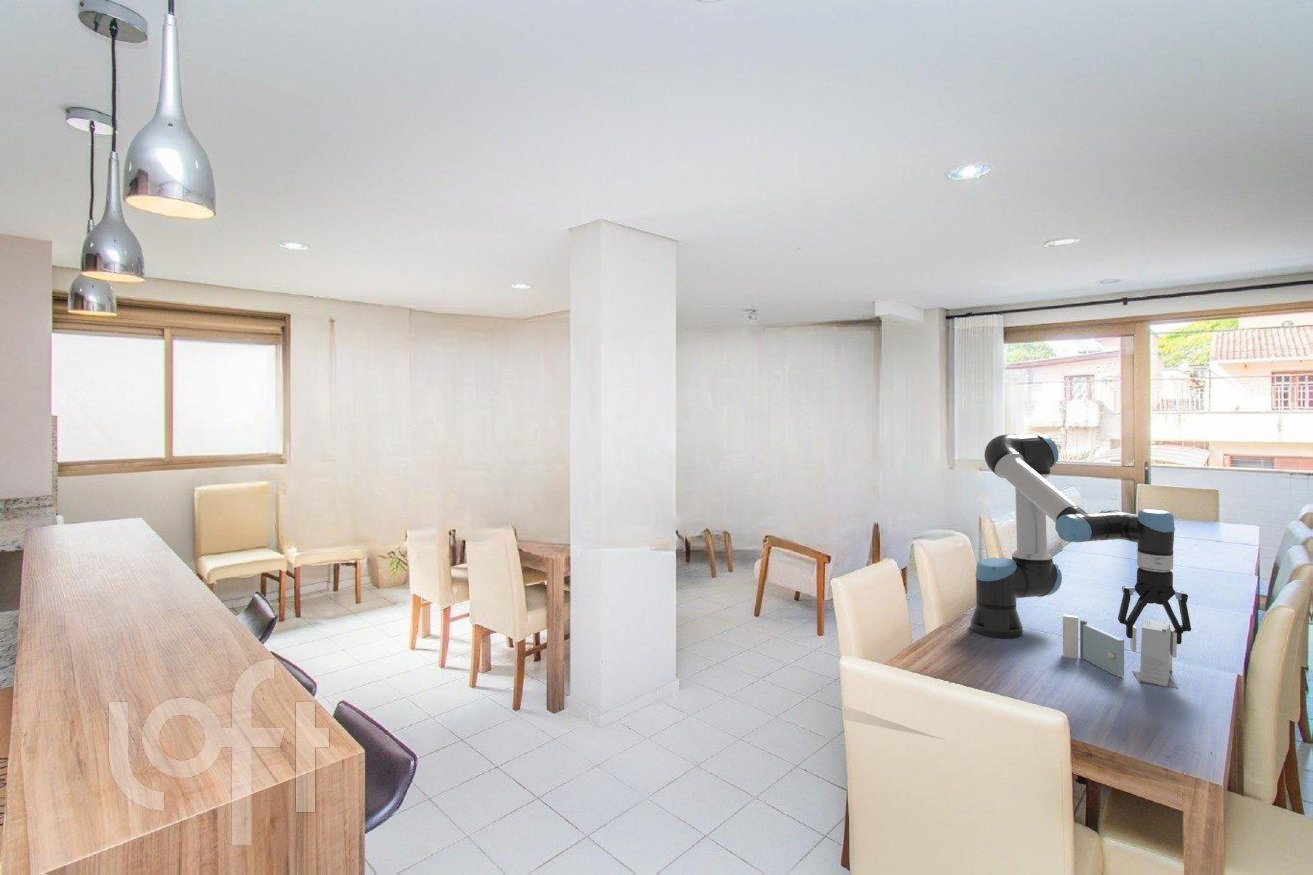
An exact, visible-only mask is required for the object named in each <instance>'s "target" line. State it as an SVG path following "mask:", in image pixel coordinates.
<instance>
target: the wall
mask: <svg viewBox="0 0 1313 875" xmlns="http://www.w3.org/2000/svg"><path fill="white" fill-rule="evenodd" d="M1170 629H1173V626H1171V625H1170ZM1062 655H1063V658H1071V659H1079V617H1078V615H1071V614H1062ZM1170 671H1171V672H1172V671H1173V657H1172V655H1171V654H1170V662H1169V672H1170Z"/></svg>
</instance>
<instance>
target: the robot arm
mask: <svg viewBox="0 0 1313 875" xmlns="http://www.w3.org/2000/svg"><path fill="white" fill-rule="evenodd" d="M1059 454H1060V453H1059V448H1058V447H1057V444H1056V443H1055V440H1052V438H1051V437H1049V436H1048V435H1046V434H1041V433H1022V434H1021V433H1019V434H1016V433H1015V434H1001V435H997V436H995V437H994V438H993V439H991V440H990V441H989V442H988V443H987V445H986V446H985V449H984V461H985V463H986V464H987V465H986V466H987V467H988V469H990V471H992V473H994V475H996V476H997V477H998V478H1000V479H1006V481H1007V482H1009V483H1010V484H1011V485H1012V486H1013V487H1014V489H1015V492H1014V493H1015V516H1016V517H1015V520H1016V521H1015V522H1016V525H1015V526H1016V527H1015V529H1016V550H1015V551H1014V552H1013V553H1012V554H1011V558H1008V557H988V558H984V559H981V560H980V561H978V562H977V563H976V566H975V567H976V570H975V580H976V582H975V590H976V591H975V594H976V596H975V597H976V600H975V601H976V602H975V603H976V604H975V605H976V606H975V608H974V611H973V613H972V616H971V618H970V629H971V630H972V631H973V632H975V633H978V634H979V635H983V636H986V637H990V638H991V637H992V638H999V639H1015V638H1020V637H1021V636H1023V631H1024V630H1023V625H1022V621H1021V619H1020V617H1019V613H1018V611H1017V599H1021V598H1023V599H1024V598H1033V597H1034V598H1035V597H1036V598H1042V597H1046V596H1050V595H1053V594H1055V593H1056V592H1058V590H1059V589H1060V587H1061V585H1062V580H1063V574H1062V571H1061V569H1060V568H1059V565H1058V564H1057V563H1056V562H1055V561H1054V560H1053V556H1052V555H1051V554H1050V553H1049V552H1048V543H1047V542H1048V541H1047V517H1048V518H1050V519H1051V520H1052V521H1053V522H1054V523H1055V532H1057V534H1058V535H1057V536H1058V537H1059V538H1060V539H1061V540H1063V541H1065V542H1068V543H1072V542H1073V543H1085V542H1096V541H1097V542H1098V541H1111V540H1112V541H1113V540H1122V541H1128V542H1133V543H1137V547H1136V548H1137V550H1136V552H1137V555H1136V565H1137V566H1138V567H1137V568H1136V583H1135V584H1134V586H1126V585H1123V586H1122V587H1121V589H1122V599H1121V604H1120V606H1119V613H1118V616H1117V620H1118V622H1119V623H1120V624H1121V625H1125V636H1126V637H1127V639H1130V650H1131V652H1134V653H1137V630H1138V628H1137V627H1136V625H1135V623H1136V622H1137V620H1138V618H1139V617H1140V615H1141V613H1142V612H1143V610H1144V608H1145V607H1146V606H1147V604H1151V605H1152V604H1156V605H1162V606H1163V608H1164V610H1165V612H1166V615H1167V616H1168V619H1169V621H1170V622H1171V625H1172V629H1170V654H1171V655H1172V658H1177V645H1182V640H1183V639H1182V638H1183V637H1182V634H1183V633H1184V632H1191V631H1192V627H1191V621H1190V613H1189V609H1188V604H1187V602H1188V598H1189V595H1188V594H1187V593H1186V592H1185V591H1178V590H1175V589H1174V572H1173V569H1174V541H1175V531H1176V527H1175V516H1174V514H1173V513H1172V512H1170V511H1168V510H1161V509H1154V508H1153V509H1151V508H1150V509H1148V508H1147V509H1144V508H1143V509H1141V510H1139V511H1138V514H1135V513H1129V512H1125V511H1120V510H1117V509H1113V510H1112V509H1103V510H1101V511H1100V512H1098V513H1094V512H1093V513H1088V512H1086V511H1085V510H1084V509H1083V508H1081V507H1080V506H1078V504H1076V503H1075V502H1074V501H1073V500H1071V498H1069V497H1068V496H1066V495H1065V494H1064V493H1063V492H1062V491H1060V490H1059V489H1058V488H1057V487H1056V486H1054V485H1053V484H1052V483H1051V482H1049V480H1047V478H1048V477H1049V476H1050V475H1051V468H1054V466H1056V465H1057V463H1058V461H1059V457H1060V456H1059ZM1134 592H1135V593H1137V595H1138V596H1139V597H1138V598H1137V602H1136V603H1135V605H1134V607H1133V608H1132V611H1131V612H1130V614H1129V615H1128V611H1129V606H1130V603H1131V596H1133V595H1134ZM1174 596H1175V599H1176V600H1177V601H1178V607H1179V614H1180V619H1181V625H1180V623H1179V621H1178V618H1177V616H1176V615H1175V612H1174V610H1173V609H1172V606H1171V604H1170V602H1169V601H1170V600H1171V599H1172V598H1173V597H1174ZM1173 628H1174V629H1173Z"/></svg>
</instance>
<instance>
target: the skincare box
mask: <svg viewBox="0 0 1313 875" xmlns="http://www.w3.org/2000/svg"><path fill="white" fill-rule="evenodd" d="M1170 626H1171V624H1170V623H1168V622H1164V621H1157V620H1152V619H1148V618H1143V619H1142V624H1141V646H1140V665H1139V666H1140V671H1139V672H1140V680H1141V681H1144V682H1149V683H1153V684H1158V685H1162V686H1161V687H1163V686H1168V681H1169V676H1170V670H1169V662H1170Z"/></svg>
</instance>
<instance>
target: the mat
mask: <svg viewBox="0 0 1313 875" xmlns="http://www.w3.org/2000/svg"><path fill="white" fill-rule="evenodd" d="M1132 674H1133V675H1134V677H1135V678H1136V681H1138V683H1139V684H1142V685H1150V686H1157V687H1165V688H1172V689H1179V687H1178V686H1177V684H1176V683H1175V681H1173V679H1172V678H1171V676H1170V675H1169V681H1168V686H1162V685H1158V684H1153V683H1149V682H1144V681H1141V680H1140V671H1136V670H1133V671H1132Z"/></svg>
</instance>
